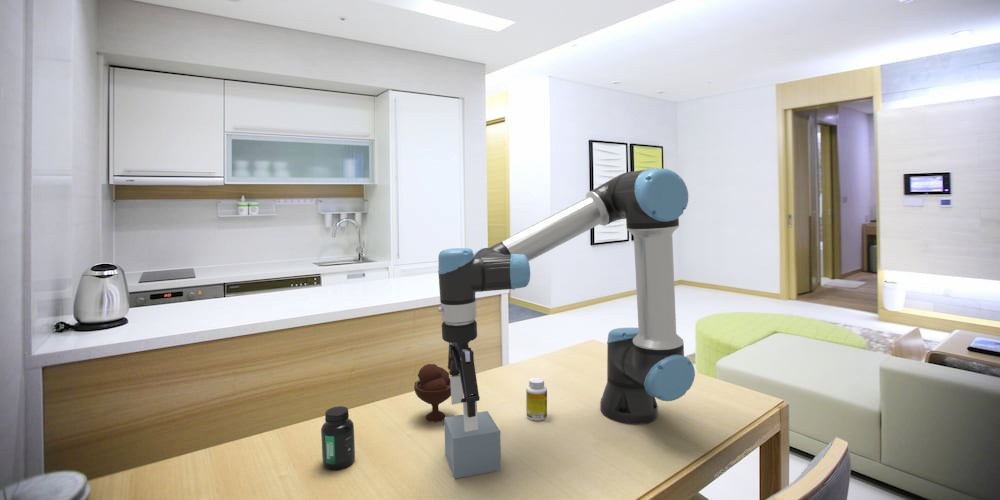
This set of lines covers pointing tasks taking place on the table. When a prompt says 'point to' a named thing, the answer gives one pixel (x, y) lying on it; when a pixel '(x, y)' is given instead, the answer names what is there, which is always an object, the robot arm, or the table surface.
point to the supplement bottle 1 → (337, 439)
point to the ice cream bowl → (433, 389)
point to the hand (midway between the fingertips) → (463, 415)
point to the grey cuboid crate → (472, 446)
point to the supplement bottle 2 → (536, 399)
